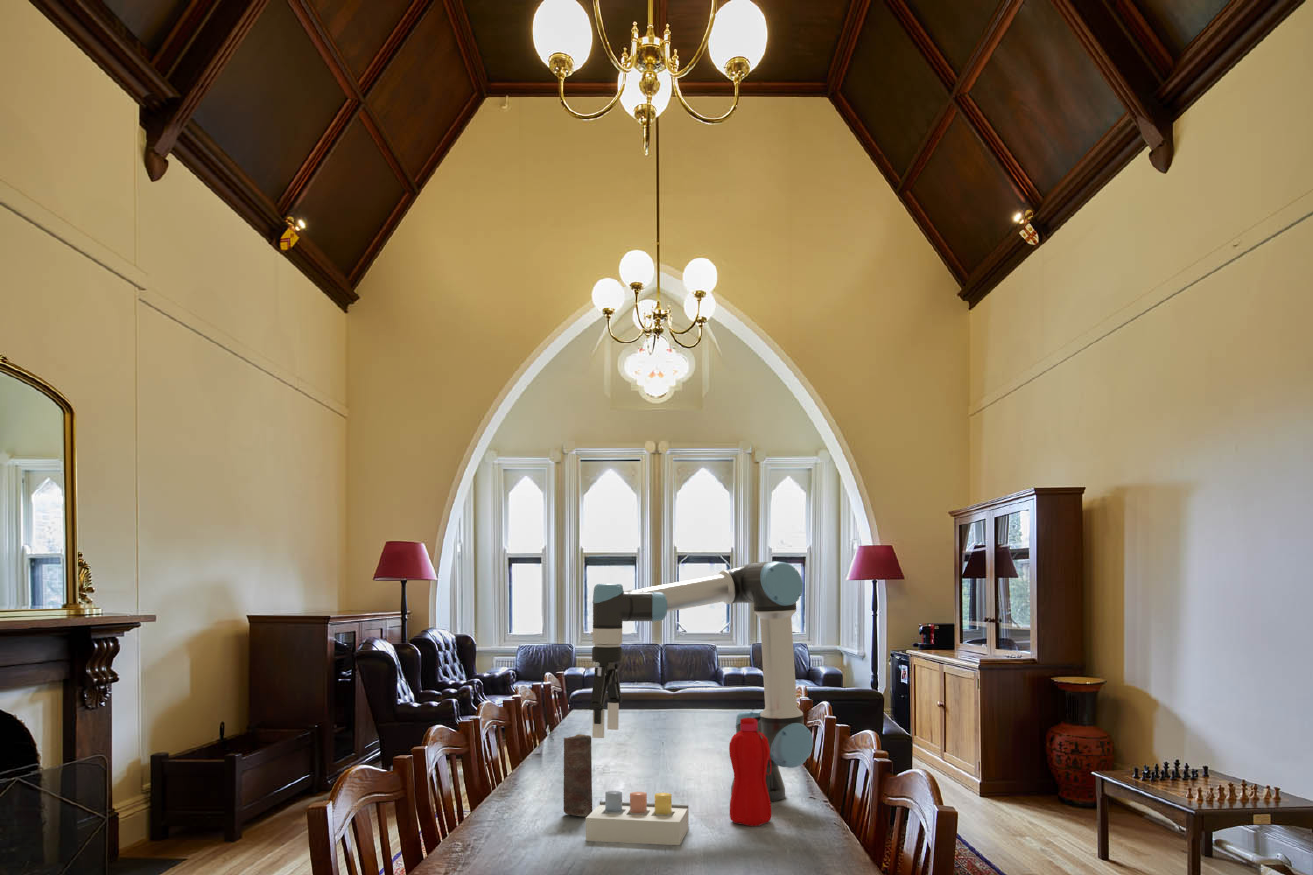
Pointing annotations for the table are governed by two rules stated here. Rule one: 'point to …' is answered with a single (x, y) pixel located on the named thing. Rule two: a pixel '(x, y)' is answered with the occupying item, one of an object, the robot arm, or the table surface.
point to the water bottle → (750, 775)
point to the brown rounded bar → (578, 775)
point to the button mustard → (663, 803)
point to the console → (638, 825)
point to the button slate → (613, 801)
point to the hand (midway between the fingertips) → (605, 733)
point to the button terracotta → (638, 802)
